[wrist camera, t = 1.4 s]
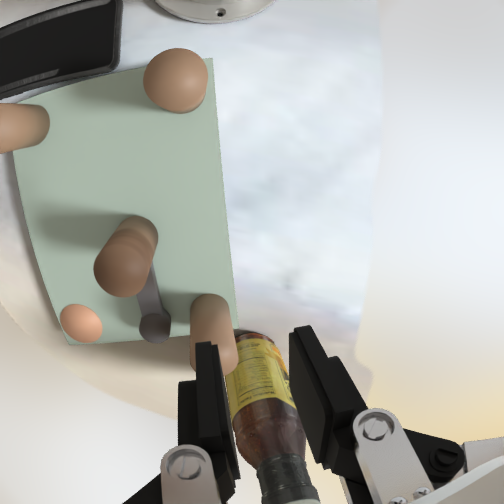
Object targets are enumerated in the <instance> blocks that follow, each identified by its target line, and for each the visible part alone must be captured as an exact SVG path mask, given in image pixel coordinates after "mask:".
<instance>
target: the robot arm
mask: <svg viewBox="0 0 504 504" xmlns="http://www.w3.org/2000/svg"><path fill="white" fill-rule="evenodd" d="M155 1H156V2H157V3H158V4H159V5H160V7H162V8H163V9H165V10H166V11H168V12H169V13H171V14H173V15H175V16H178V17H180V18H182V19H186V20H190V21H193V22H199V23H208V24H216V23H229V22H235V21H240V20H243V19H246V18H249V17H252V16H254V15H256V14H258V13H260V12H262V11H263V10H265V9H266V8H267V7H269V6H270V5H271V4H273V2H274V1H275V0H155ZM218 14H223V16H222V17H219V16H217V15H218ZM195 359H196V380H191V381H182V382H179V384H178V446H176V447H174V448H172V449H170V450H169V451H168V452H167V453H166V454H165V455H164V457H163V459H162V460H161V466H160V469H161V473H160V474H159V475H157V476H156V477H155V478H154V479H153V480H152V481H150V482H149V483H148V484H147V485H145V486H144V487H143V488H142V489H140V490H139V491H138V492H137V493H135V494H134V495H133V496H132V497H130V498H129V499H128V500H127V501H125V502H124V503H123V504H228V502H227V501H228V500H229V498H231V497H232V496H233V494H234V493H235V489H234V488H235V487H236V486H235V480H237V479H241V478H240V472H239V466H238V460H237V454H236V448H235V442H234V437H233V429H232V423H231V416H230V410H229V403H228V397H227V392H226V387H225V382H224V376H223V371H222V366H221V360H220V355H219V349H218V344H214V345H212V343H211V341H205V342H197V343H195ZM289 387H290V392H291V395H292V398H293V401H294V404H295V406H296V409H297V412H298V415H299V418H300V420H301V423H302V426H303V429H304V432H305V434H306V437H307V440H308V443H309V446H310V448H311V451H312V454H313V457H314V459H315V462H316V463H317V464H318V463H322V466H323V469H324V470H326V469H331V471H332V473H334V474H336V475H339V477H340V481H341V484H342V487H343V490H344V493H345V496H346V499H347V502H348V504H504V437H499V438H492V439H486V440H478V441H469V442H464V443H463V444H462V445H458V444H457V443H456V442H453V441H450V440H446V439H442V438H438V437H434V436H430V435H426V434H422V433H418V432H415V431H411V430H407V429H404V428H402V426H401V424H400V423H399V421H398V419H397V418H396V417H395V415H394V414H392V413H391V412H389V411H387V410H384V409H380V408H373V409H368V407H367V406H366V404H365V402H364V400H363V398H362V397H361V395H360V393H359V391H358V390H357V388H356V386H355V384H354V383H353V381H352V379H351V377H350V376H349V374H348V372H347V370H346V369H345V367H344V365H343V363H342V362H341V360H340V359H339V357H337V356H334V357H329V358H328V357H327V355H326V353H325V351H324V349H323V347H322V346H321V344H320V342H319V340H318V338H317V336H316V334H315V333H314V331H313V329H312V327H311V326H310V325H307V326H302V327H297V328H294V332H292V333H289Z"/></svg>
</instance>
